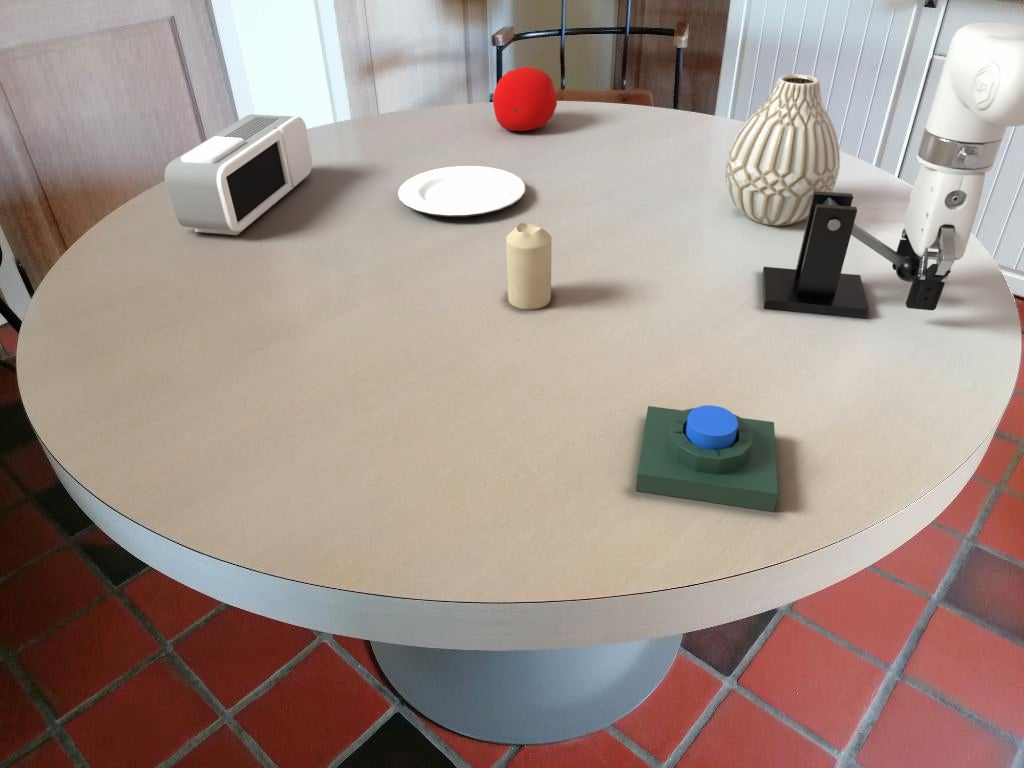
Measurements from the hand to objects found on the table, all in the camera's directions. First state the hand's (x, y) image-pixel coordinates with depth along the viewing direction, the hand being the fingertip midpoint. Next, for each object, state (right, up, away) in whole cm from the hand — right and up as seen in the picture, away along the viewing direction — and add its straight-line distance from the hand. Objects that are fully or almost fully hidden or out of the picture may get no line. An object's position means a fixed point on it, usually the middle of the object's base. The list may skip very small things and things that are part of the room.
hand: (912, 288), depth 92 cm
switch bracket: (-11, -1, +4) cm, 11 cm away
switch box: (-31, -19, -21) cm, 42 cm away
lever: (-7, +4, -1) cm, 8 cm away
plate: (-57, +19, +32) cm, 68 cm away
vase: (-9, +14, +24) cm, 29 cm away
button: (-31, -16, -23) cm, 42 cm away
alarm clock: (-91, +17, +32) cm, 98 cm away
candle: (-47, -1, +5) cm, 47 cm away
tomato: (-46, +40, +61) cm, 87 cm away
